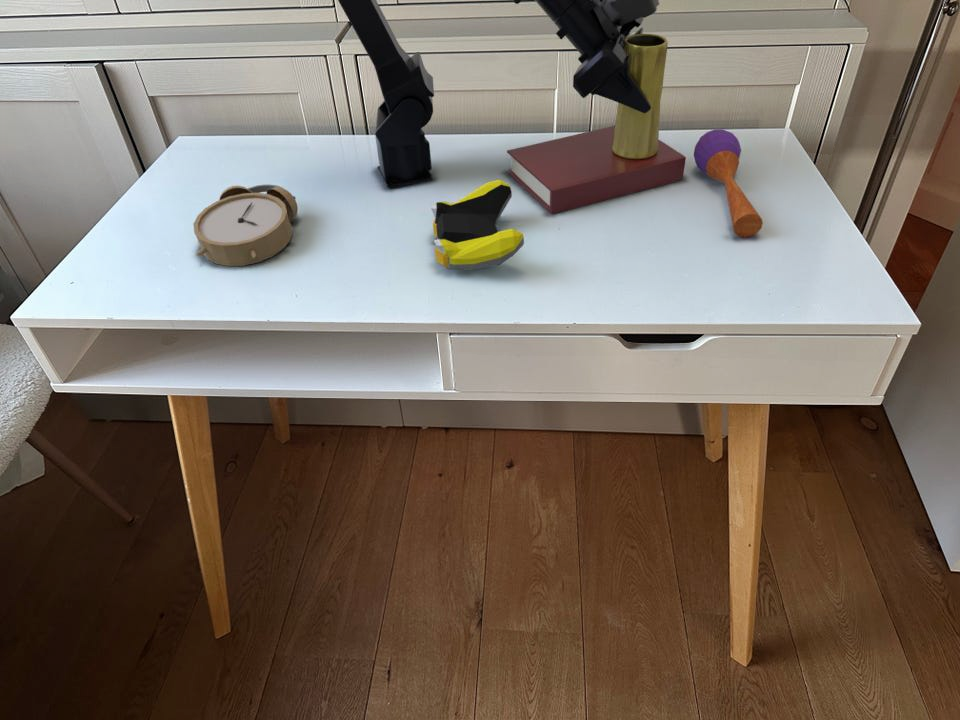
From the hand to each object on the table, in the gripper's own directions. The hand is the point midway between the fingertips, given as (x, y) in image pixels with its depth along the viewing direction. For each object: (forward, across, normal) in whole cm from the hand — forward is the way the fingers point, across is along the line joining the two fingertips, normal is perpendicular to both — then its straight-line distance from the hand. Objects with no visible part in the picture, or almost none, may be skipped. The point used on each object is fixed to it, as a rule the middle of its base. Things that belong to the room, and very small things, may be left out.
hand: (651, 100), depth 92 cm
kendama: (+15, -4, -1) cm, 16 cm away
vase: (+4, 0, +6) cm, 7 cm away
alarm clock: (-24, -27, +39) cm, 54 cm away
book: (+2, -2, +12) cm, 12 cm away
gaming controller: (-4, -24, +19) cm, 31 cm away
